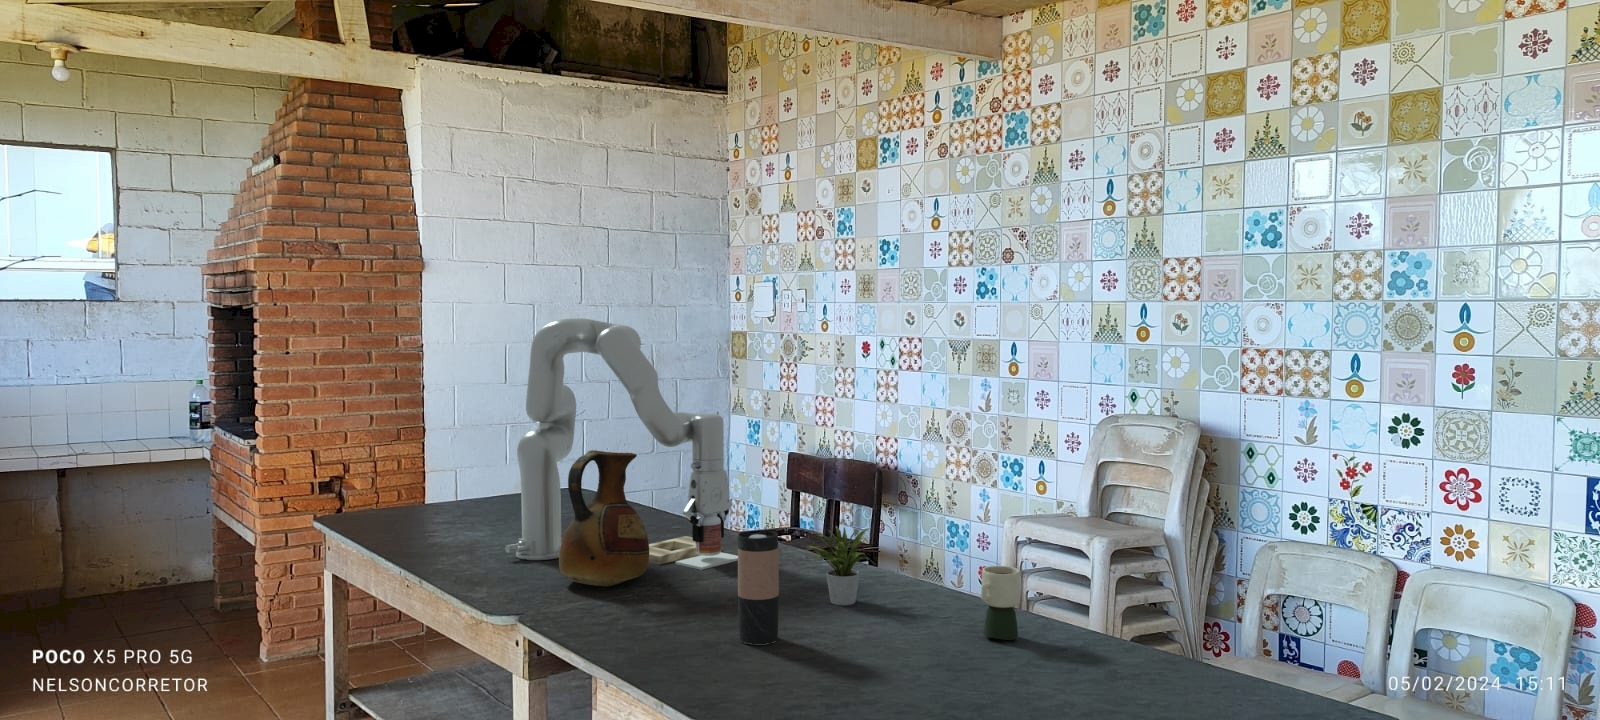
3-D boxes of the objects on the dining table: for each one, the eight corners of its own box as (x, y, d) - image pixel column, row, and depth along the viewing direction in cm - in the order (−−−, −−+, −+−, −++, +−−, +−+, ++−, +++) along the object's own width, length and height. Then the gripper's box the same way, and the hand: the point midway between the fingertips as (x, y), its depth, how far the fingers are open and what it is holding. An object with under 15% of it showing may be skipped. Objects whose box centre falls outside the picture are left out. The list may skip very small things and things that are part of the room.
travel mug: (764, 648, 206) (763, 540, 205) (730, 642, 210) (729, 535, 209) (786, 638, 212) (786, 532, 211) (753, 631, 217) (752, 528, 215)
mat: (701, 569, 266) (701, 567, 266) (675, 563, 272) (675, 561, 272) (742, 559, 276) (742, 556, 276) (716, 553, 282) (716, 551, 282)
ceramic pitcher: (667, 581, 255) (665, 449, 254) (594, 598, 241) (592, 459, 239) (613, 567, 269) (611, 442, 267) (541, 583, 254) (539, 450, 252)
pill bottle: (726, 553, 274) (726, 508, 273) (706, 557, 270) (706, 511, 269) (710, 549, 278) (710, 504, 278) (690, 553, 274) (690, 508, 273)
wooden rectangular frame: (659, 564, 271) (658, 556, 271) (626, 557, 279) (626, 549, 279) (718, 550, 286) (718, 542, 286) (685, 543, 294) (685, 536, 294)
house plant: (844, 588, 249) (844, 514, 248) (892, 599, 239) (892, 523, 238) (798, 600, 239) (797, 523, 238) (845, 613, 229) (845, 533, 228)
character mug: (1004, 628, 218) (1004, 562, 217) (1034, 636, 212) (1034, 568, 212) (967, 640, 211) (967, 571, 210) (997, 649, 205) (997, 578, 205)
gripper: (692, 471, 264) (693, 547, 265) (744, 463, 277) (744, 535, 278) (670, 468, 269) (671, 543, 270) (722, 460, 282) (722, 531, 283)
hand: (708, 538), depth 274 cm, fingers closed on pill bottle, 6 cm apart
